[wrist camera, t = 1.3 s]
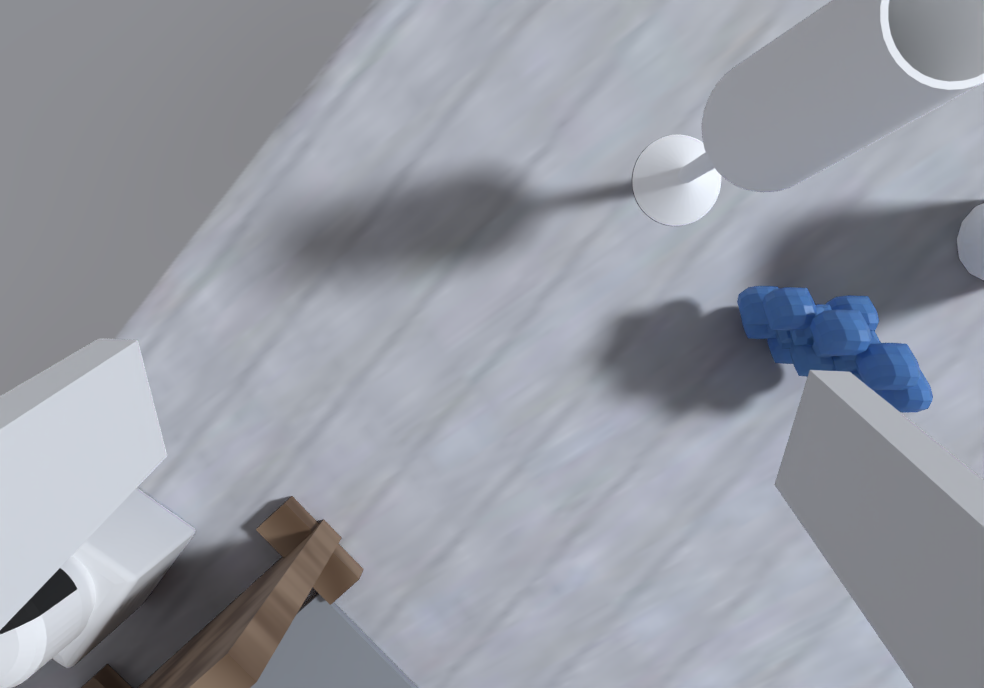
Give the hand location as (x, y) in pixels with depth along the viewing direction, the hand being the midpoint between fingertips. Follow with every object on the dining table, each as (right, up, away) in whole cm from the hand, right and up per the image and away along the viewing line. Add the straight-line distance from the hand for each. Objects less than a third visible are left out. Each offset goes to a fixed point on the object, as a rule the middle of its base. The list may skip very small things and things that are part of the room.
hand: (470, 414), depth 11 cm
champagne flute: (+14, +14, +30) cm, 36 cm away
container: (-28, -14, +31) cm, 44 cm away
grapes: (+23, +2, +31) cm, 38 cm away
